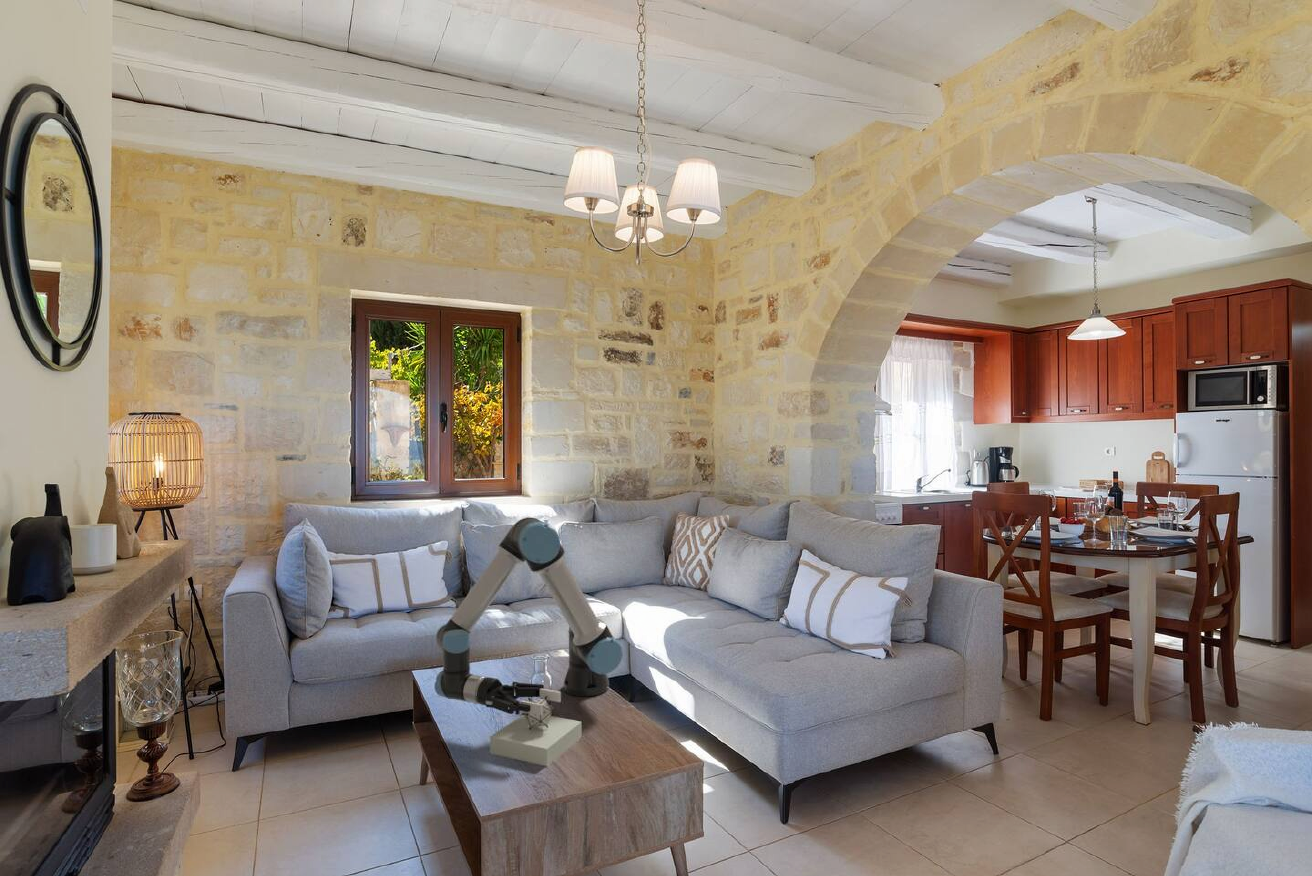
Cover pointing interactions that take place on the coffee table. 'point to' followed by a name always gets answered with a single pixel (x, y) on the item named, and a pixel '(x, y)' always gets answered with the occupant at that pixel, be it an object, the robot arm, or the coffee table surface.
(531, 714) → the game die
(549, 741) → the base block
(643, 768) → the coffee table surface
